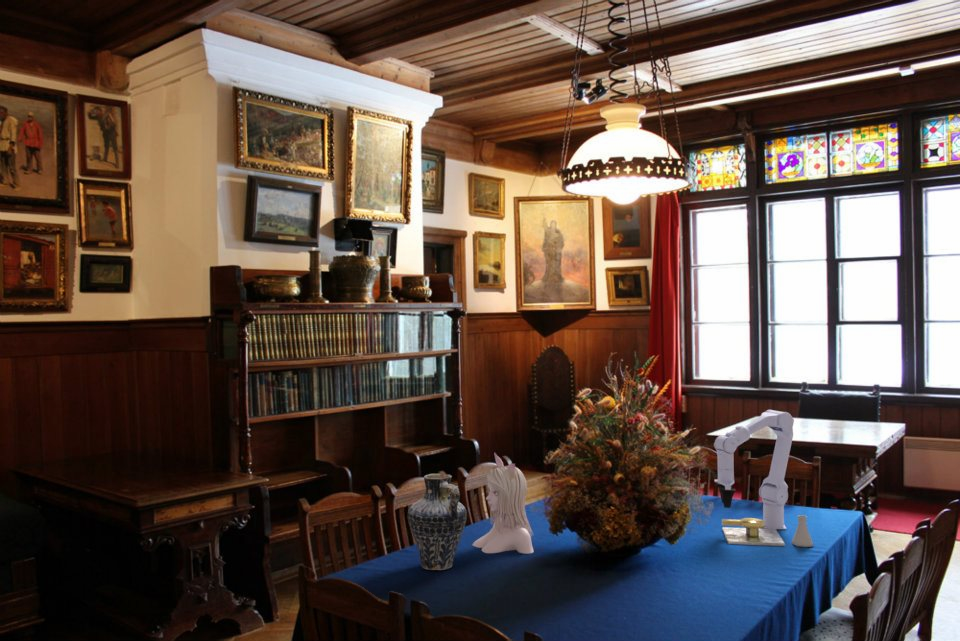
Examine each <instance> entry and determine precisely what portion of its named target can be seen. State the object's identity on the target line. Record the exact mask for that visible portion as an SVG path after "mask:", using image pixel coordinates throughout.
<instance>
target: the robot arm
mask: <svg viewBox="0 0 960 641" xmlns="http://www.w3.org/2000/svg"><path fill="white" fill-rule="evenodd" d="M794 423H795V419H794V417H793V416H792V415H791V413H789V412H787V411H779V410H773V409H767V410H765V411H764V412H761V414H760V416H759V417H757V418H755V419H754V420H753V421H751V422H750V423H748V424H747V425H746V426H743V425H737V426H735V428H734V429H732V430H731V431H729V432H726V433H725V434H724V435H722V434H721V435H719V436H717V437H716V438H715V440H714V443H713V447H714V449H715V451H716V455H717V457H716V458H717V479H714V483H716V485H717V487H718V489H719V494H720V499H721V503H722V504H723V507H724V508H727V509H730V508H732V507H731V506H732V502H733V497H734V494H736V489H735V488H732V487H733V485H734V484H735V475H734V474H735V472H734V471H735V470H734V468H735V467H734V462H735V461H734V460H735V459H734V453H735V451H736V450H737V448H738V447H739V446H740V445H743V443H744V442H747V441H749V440H750V439H751V438H750V437H751V435H752V434H754V433H756V432H758V431H760V430H762V429H764V428H766V427H767V428H769V429H770V430H772V431H773V433H774V434H775V435H776V441H775V444H774V445H775V446H774V449H773V454H772V458H771V459H772V460H771V464H770V468H769V469H770V470H769V473H768V476H766V477H765V478H764V479H763V480H762V484H761V486H760V487H759V489H758V494H759V498H760V499H761V501H762V502H763V504H762V505H763V507H762V511H763V512H762V514H763V519H762V520H763V521H764V522H765V527H763V529H776V530H788V529H787V527H786V525H785V517H784V516H785V514H784V513H785V505H786V503H787V502H788V498H789V492H788V488H789V486H788V484H787V483H786V481H785V478H786V477H785V476H786V472H787V466H788V461H789V456H790V452H791V447H792V443H793V438H794V428H793V426H794Z"/></svg>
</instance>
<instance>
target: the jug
mask: <svg viewBox="0 0 960 641" xmlns="http://www.w3.org/2000/svg"><path fill="white" fill-rule="evenodd" d="M452 478H453V476H452V475H451V474H448V473H447V474H443V473H439V472H438V473H429V474H426V475H424V476H423V481H424V484H425V493H424V495H423V497H422V498H420V499H419V500H417V501H415V502H413V504H412V505H411V506H410V507H409V508H408V511H407V522H408V525H409V528H410V532H411V534H412V536H413V538H414V541H415V543H416V544H415V545H416V546H417V549H418V553H419V562H420V565H421V568H423V569H425V570H429V571H445V570H448V569H450V568H452V567H453V566H454V560H455V556H456V553H457V552H456V551H457V549H458V545H459V543H460V541H461V537H462V535H463V532H464V530H465V526H466V523H467V517H468V515H467V514H468V513H467V509H466V507H465V506H464V505H463V504H462V503H461V502H460V498H461V497H460V496H461V495H460V494H461V493H460V489H459V487H458V486H456V485H454V484H452V483H451V481H452Z"/></svg>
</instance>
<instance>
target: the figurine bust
mask: <svg viewBox="0 0 960 641" xmlns="http://www.w3.org/2000/svg"><path fill="white" fill-rule="evenodd" d="M493 455H494V459H495V463H496V467H495V468H493V469H492V468H491V469H490V470H488V473H487V475H486V479H485V480H486V487H487V489H486V492H487V494H488V495H487V496H486V497H485V500H486V501H487V504H488V506H489V507H490V516H489V517H490V520H489V523H490V524H491V525H490V524H489V526H488V527H490V526H492V525H493V526H492V528H490V530H489V532H487V533H486V534H484V535H483V536H481V537H480V538H478V539H477V540H475V541H473V543H472V546H473V547H476V548H479V549H480V548H481V551H482V552H483V553H485V554H496V553H502V552H506V551H507V552H509V551H517V552H518V553H519V554H526V555H527V554H533V553H534V548H533V544H532V537H533V536H535V534H534V533H533V530H532V528H531V526H530V521H529V519H528V518H527V513H526V498H527V493H528V492H527V491H528V483H527V479H526V477H525V475H524V473H523V472H522V471H521V469H519V468H518V467H517V466H516V463H509V464H508V465H504V462H503V461H502V458H500V457H499V456H498V455H497V453H496V452H494V453H493Z"/></svg>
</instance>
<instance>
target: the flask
mask: <svg viewBox="0 0 960 641" xmlns="http://www.w3.org/2000/svg"><path fill="white" fill-rule="evenodd" d="M797 519H798V523H797V527H796V530H795V533H794V535H793V538H792V540H791V544H792V545H794V546H796V547H803V548H808V547H814V542H813V540H812V537H811V535H810V532H809V528H808V525H807V519H808V516H806V515H805V514H804V515H802V514H801V515H799V514H798V515H797Z"/></svg>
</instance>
